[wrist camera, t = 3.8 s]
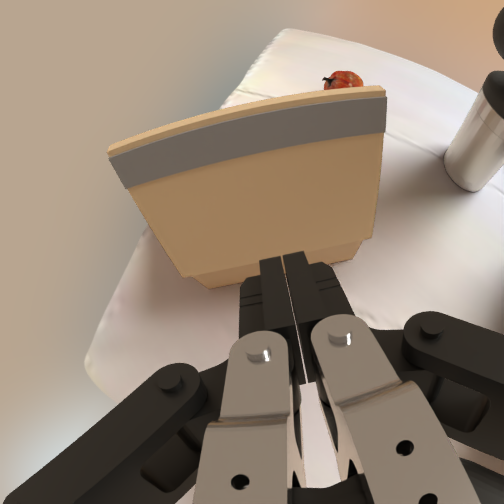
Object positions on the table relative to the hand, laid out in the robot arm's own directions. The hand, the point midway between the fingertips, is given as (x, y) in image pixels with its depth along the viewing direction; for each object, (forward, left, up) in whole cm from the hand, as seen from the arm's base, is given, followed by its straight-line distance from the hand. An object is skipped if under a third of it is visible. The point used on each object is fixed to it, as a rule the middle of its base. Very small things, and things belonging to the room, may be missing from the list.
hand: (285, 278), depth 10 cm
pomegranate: (-37, -17, -29) cm, 50 cm away
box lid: (-6, -8, -12) cm, 16 cm away
